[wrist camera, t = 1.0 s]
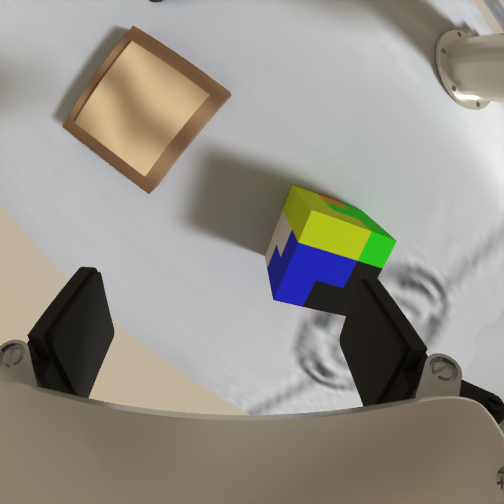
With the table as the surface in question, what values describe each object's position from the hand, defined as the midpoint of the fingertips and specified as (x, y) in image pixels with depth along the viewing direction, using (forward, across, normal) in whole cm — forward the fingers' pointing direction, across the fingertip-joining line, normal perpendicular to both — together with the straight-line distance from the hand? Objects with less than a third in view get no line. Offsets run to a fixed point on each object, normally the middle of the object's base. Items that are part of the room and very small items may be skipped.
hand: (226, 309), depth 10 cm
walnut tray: (+26, +11, -8) cm, 29 cm away
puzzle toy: (+26, -11, +7) cm, 29 cm away
